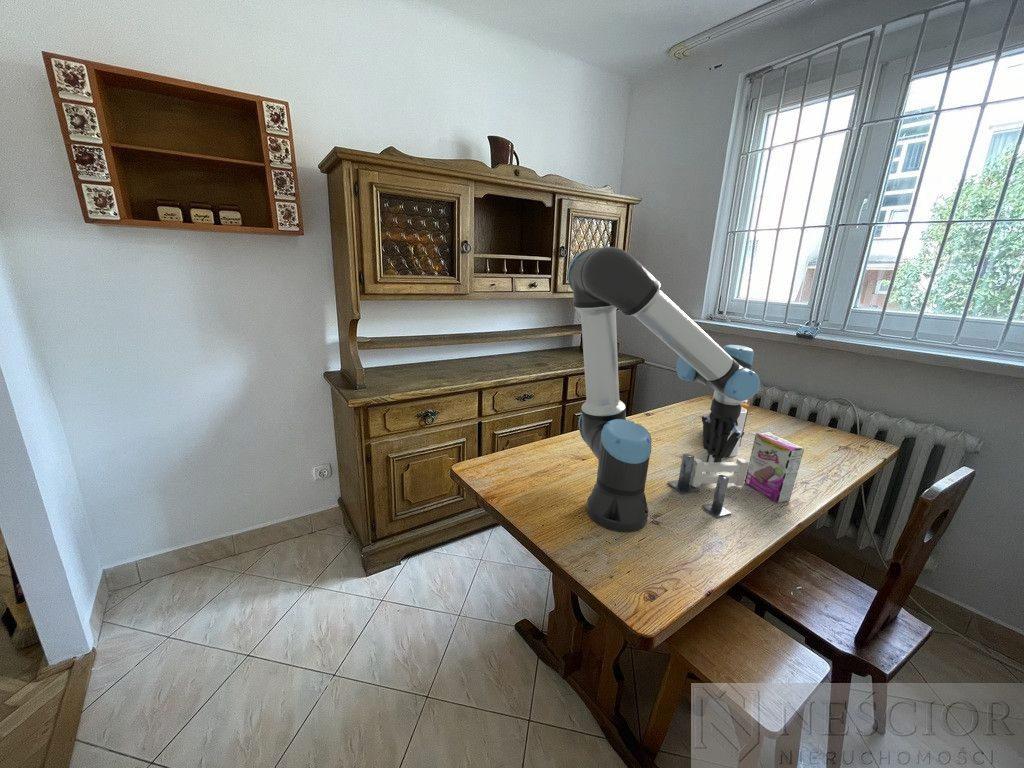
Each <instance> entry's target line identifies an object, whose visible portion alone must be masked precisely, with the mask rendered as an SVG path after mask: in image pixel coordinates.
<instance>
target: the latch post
mask: <svg viewBox="0 0 1024 768" xmlns="http://www.w3.org/2000/svg"><path fill="white" fill-rule="evenodd" d="M728 480H729V478H728V477H727V476H725V475H719V476H718V480H717V483H716V485H715V489H714V490H715V491H714V494H713V499H712V502H711V503H707V504H703V505H701V508H702V509H703V511H706V512H707V513H708V514H709V515H711V516H713V517H714V518H715V519H720V518H726V517H729V516H732V514H733V513H732V512H731V511H729V510H728V509H726V508H725V507H724V503H725V502H724V501H725V498H726V493H727V488H728V484H729V483H728Z"/></svg>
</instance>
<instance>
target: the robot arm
mask: <svg viewBox="0 0 1024 768" xmlns="http://www.w3.org/2000/svg"><path fill="white" fill-rule="evenodd" d="M566 278H567V282H568V285H569V287H570V288H571V290H572V292H573V293H572V295H573V306H574V307H573V308H574V309H575V310H576V311H578V312H579V314H580V321H581V334H582V337H581V338H582V350H583V352H582V353H583V366H584V380H585V395H586V401H585V402H584V403H583V404H582V405H581V414H580V416H579V418H578V429H579V430H578V431H579V433H580V437H581V438H582V441H584V443H585V444H586V445H587V446H588V448H589V449H590V451H591V452H592V453H593V455H594V456H595V458H596V459H597V461H598V462H597V464H598V466H597V472H596V473H597V474H596V481H595V484H594V486H593V488H592V491H591V493H590V494H589V496H587V497H588V498H587V501H586V513H587V515H588V517H589V518H590V519H591V520H592V521H593V522H594V523H596V524H597V525H599V526H601V527H603V528H605V529H608V530H611V531H615V532H620V533H621V532H624V533H628V532H629V533H630V532H631V533H632V532H636V531H639V530H641V529H643V528H644V527H646V525H647V523H648V519H649V507H648V503H647V502H648V501H647V497H646V493H645V488H646V483H647V477H648V476H647V475H648V470H649V465H650V463H649V462H650V458H651V454H652V448H653V446H652V441H653V440H652V435H651V434H650V432H649V431H648V429H647V428H646V427H644V425H642V424H639V423H635V421H631V420H629V419H627V414H626V413H627V411H626V404H625V403H624V402H623V401H622V400H620V389H619V388H620V384H619V361H618V360H619V357H618V341H617V340H618V338H617V337H618V335H617V334H618V332H617V330H618V329H617V313H616V312H617V310H620V312H622V313H623V314H624V315H625V316H626V317H635V318H636V319H637V320H638V321H639V322H640V323H642V325H644V326H645V327H646V328H647V329H648V330H649V331H651V332H652V333H653V334H654V335H655V336H656V337H657V338H659V340H661V341H662V342H663V343H664V344H665V345H666V346H668V347H669V348H670V349H671V350H672V351H673V352H675V353H676V355H678V356H679V357H678V358H677V361H676V367H675V368H676V373H677V376H678V378H679V379H680V380H682V381H687V382H691V383H692V382H699V383H700V384H703V385H704V386H706V387H708V388H710V389H713V390H714V392H713V399H712V400H711V405H710V412H709V415H703V416H701V421H702V438H703V439H702V441H703V442H702V448H703V449H704V450H706V451H707V453H708V454H707V457H706V462H722V459H728V458H730V455H731V453H732V451H733V449H734V447H735V445H736V444H737V442H738V440H739V438H740V437H742V438H743V436H744V435H745V431H740V430H739V428H738V427H737V426H738V422H737V419H738V417H739V416H740V412H741V408H742V404H741V403H742V402H743V401H745V400H748V399H750V400H751V399H752V398H753V397H754V396H755V395H756V394H757V392H758V391H759V389H760V386H761V379H760V378H759V375H758V374H757V373H756V372H755V371H753V370H752V367H753V365H754V364H753V362H754V356H755V355H754V354H755V351H754V350H753V349H752V348H750V347H748V346H744V345H739V344H727V345H724V346H723V348H722V347H721V346H720V345H719V343H717V342H716V341H715V339H713V338H712V337H711V336H710V335H709V334H708V333H707V332H706V331H704V329H702V328H701V327H700V326H699V325H698V324H697V323H696V322H695V321H694V320H693V319H692V318H690V317H689V316H688V314H686V312H684V310H682V309H681V308H680V307H679V306H678V305H677V304H676V303H675V302H674V301H673V300H671V298H669V296H667V295H666V294H665V293H664V292H663V291H662V290H661V289H660V288H661V283H660V282H661V281H659V280H658V278H656V277H655V276H654V275H653V274H652V273H651V272H650V271H648V269H646V268H645V267H644V266H643V265H642V263H641V262H639V261H638V260H637V259H636V258H635V257H634V256H633V255H631V254H630V253H629V252H628V251H626V250H624V249H622V248H619V247H614V246H605V247H591V248H587V249H585V250H583V251H580V252H579V253H578V254H577V255H575V256H574V257H573V259H572V260H571V261H570V264H569V266H568V268H567V277H566ZM732 430H733V431H732ZM731 431H732V432H731ZM730 433H731V434H732V435H731V436H730V437H729V439H728V436H729V435H730ZM727 440H728V441H727ZM705 474H717V472H705Z"/></svg>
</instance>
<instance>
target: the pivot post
mask: <svg viewBox="0 0 1024 768" xmlns="http://www.w3.org/2000/svg"><path fill="white" fill-rule="evenodd" d="M681 458H682V459H681V463H680V469H679V475H678V479H677V480H671V481H667V485H668V486H670V487H671V488H672V489H674V490H675V491H676V492H677V493H679V494H681V495H682V496H683V495H686V494H687V495H688V494H692V493H696V492H697V493H698V492H700V489H699V488H698V487H693V486H692V485H691V484H690V478H691V473H692V467H693V462H694V459H695V455H693V454H690V453H683V454H682V457H681Z"/></svg>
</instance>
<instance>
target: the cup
mask: <svg viewBox="0 0 1024 768" xmlns="http://www.w3.org/2000/svg"><path fill="white" fill-rule="evenodd" d="M746 414H747V410H746V409H745V408H743V407H742V408H741V412H740V416H739V417H738V419H737V422H738V426H737V427H738V428H739V430H740V431H743V427H744V422H745V418H746ZM747 415H748V414H747ZM746 419H747V418H746ZM744 428H745V427H744ZM732 431H733V430H732ZM732 431H731V432H732ZM743 432H744V431H743ZM731 435H732V434H731V433H730V435H729V436H728V439H729V437H730V436H731ZM740 440H741V437H740V438H739V440H738V442H737V444H736V445H735V447H734V449H733V451H732V453H731V455H730V456H729V458H730V457H737V456H738V453H739V448H740V446H741V445H740ZM727 441H728V440H727ZM741 441H742V440H741ZM739 445H740V446H739Z"/></svg>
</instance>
